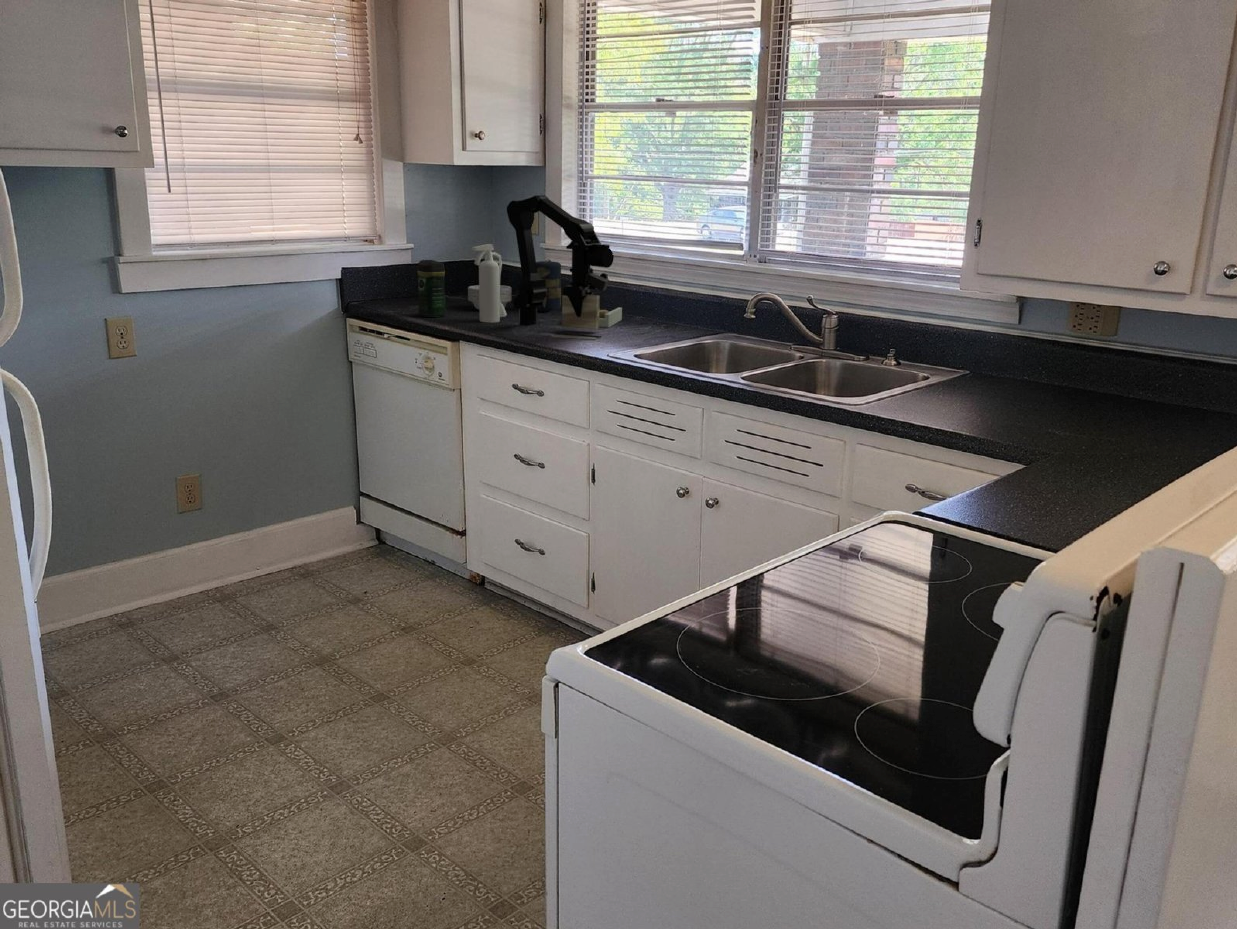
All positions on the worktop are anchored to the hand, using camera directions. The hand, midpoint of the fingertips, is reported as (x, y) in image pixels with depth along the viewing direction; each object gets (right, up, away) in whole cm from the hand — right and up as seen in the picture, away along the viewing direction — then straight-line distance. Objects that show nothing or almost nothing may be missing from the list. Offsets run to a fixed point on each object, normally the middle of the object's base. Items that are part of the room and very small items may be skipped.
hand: (580, 316), depth 326 cm
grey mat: (0, -6, +2) cm, 6 cm away
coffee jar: (-51, +4, +30) cm, 59 cm away
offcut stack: (+2, 0, +16) cm, 16 cm away
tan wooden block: (0, -3, +1) cm, 4 cm away
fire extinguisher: (-30, +2, +23) cm, 38 cm away
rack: (+3, 0, +20) cm, 20 cm away
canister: (-13, +8, +47) cm, 49 cm away
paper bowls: (-34, +9, +48) cm, 59 cm away
